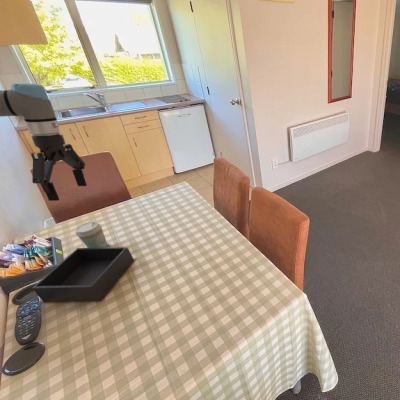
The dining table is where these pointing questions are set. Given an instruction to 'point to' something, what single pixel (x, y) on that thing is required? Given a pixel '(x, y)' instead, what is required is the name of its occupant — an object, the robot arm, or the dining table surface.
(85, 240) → the coffee cup
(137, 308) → the dining table surface
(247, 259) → the dining table surface
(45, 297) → the shallow black tray
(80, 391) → the dining table surface
